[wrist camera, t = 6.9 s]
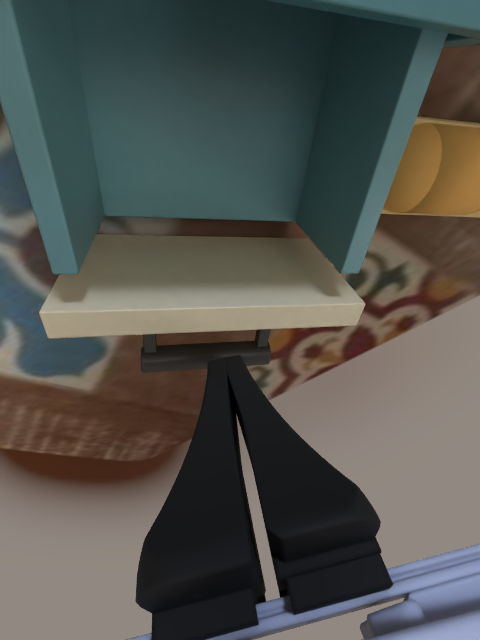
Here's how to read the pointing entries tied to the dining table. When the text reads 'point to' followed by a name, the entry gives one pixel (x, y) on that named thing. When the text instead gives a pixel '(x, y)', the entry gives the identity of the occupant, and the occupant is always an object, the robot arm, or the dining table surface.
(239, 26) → the drawer
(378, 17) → the cabinet
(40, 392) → the dining table surface
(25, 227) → the dining table surface
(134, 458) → the dining table surface
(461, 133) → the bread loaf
